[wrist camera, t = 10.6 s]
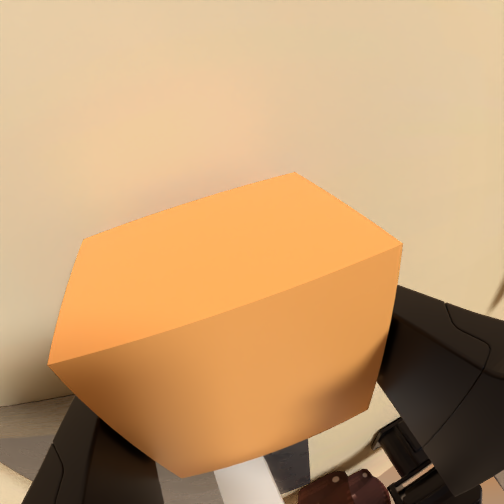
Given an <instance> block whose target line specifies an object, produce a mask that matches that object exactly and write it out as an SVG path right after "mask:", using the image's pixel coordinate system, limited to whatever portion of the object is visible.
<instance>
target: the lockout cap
mask: <svg viewBox="0 0 504 504" xmlns="http://www.w3.org/2000/svg"><path fill="white" fill-rule="evenodd" d="M402 246H403V243H401V242H400V241H398V240H397V239H396V238H394V237H393V236H391V235H390V234H389V233H387V232H386V231H384V230H383V229H382V228H380V227H379V226H377V225H376V224H375V223H373V222H372V221H370V220H369V219H367V218H366V217H364V216H363V215H361V214H360V213H358V212H357V211H355V210H354V209H352V208H351V207H349V206H348V205H346V204H345V203H343V202H342V201H340V200H339V199H337V198H336V197H334V196H333V195H331V194H329V193H328V192H326V191H325V190H323V189H322V188H320V187H318V186H317V185H315V184H314V183H312V182H310V181H309V180H307V179H305V178H304V177H302V176H300V175H299V174H297V173H295V172H294V173H290V174H286V175H282V176H278V177H275V178H271V179H267V180H263V181H260V182H256V183H253V184H249V185H245V186H242V187H238V188H235V189H232V190H228V191H225V192H221V193H218V194H215V195H211V196H208V197H205V198H202V199H198V200H195V201H192V202H189V203H186V204H183V205H179V206H176V207H173V208H170V209H167V210H164V211H161V212H158V213H155V214H152V215H149V216H146V217H144V218H141V219H138V220H135V221H132V222H129V223H126V224H124V225H121V226H118V227H115V228H113V229H110V230H107V231H104V232H102V233H99V234H96V235H94V236H91V237H89V238H86V239H83V242H82V244H81V247H80V250H79V252H78V255H77V258H76V261H75V264H74V267H73V270H72V273H71V276H70V279H69V282H68V285H67V288H66V292H65V295H64V298H63V302H62V305H61V309H60V313H59V316H58V320H57V324H56V328H55V332H54V336H53V340H52V345H51V349H50V354H49V359H48V364H47V365H48V366H49V367H50V369H51V370H52V371H53V372H54V373H55V374H56V375H57V376H58V377H59V378H60V379H61V381H62V382H63V383H64V384H65V385H66V386H67V387H68V388H69V389H70V390H71V391H72V392H73V393H74V394H75V395H76V396H77V397H78V398H79V399H80V400H81V401H82V402H83V403H84V404H86V405H87V406H88V407H89V408H90V409H91V410H92V411H93V412H94V413H95V414H96V415H97V416H99V417H100V418H101V419H102V420H103V421H104V422H105V423H107V424H108V425H109V426H110V427H111V428H112V429H114V430H115V431H116V432H117V433H119V434H120V435H121V436H122V437H123V438H125V439H126V440H127V441H129V442H130V443H131V444H132V445H134V446H135V447H136V448H138V449H139V450H140V451H142V452H143V453H144V454H146V455H147V456H149V457H150V458H151V459H153V460H154V461H156V462H157V463H159V464H160V465H161V466H163V467H164V468H166V469H167V470H169V471H170V472H172V473H174V474H175V475H177V476H178V477H180V478H186V477H191V476H195V475H199V474H203V473H207V472H211V471H215V470H219V469H222V468H226V467H230V466H233V465H236V464H240V463H243V462H246V461H249V460H252V459H255V458H258V457H261V456H264V455H267V454H270V453H272V452H275V451H278V450H280V449H283V448H286V447H288V446H291V445H293V444H296V443H298V442H301V441H303V440H305V439H308V438H310V437H312V436H315V435H317V434H319V433H321V432H324V431H326V430H328V429H330V428H332V427H334V426H336V425H338V424H340V423H342V422H344V421H346V420H348V419H350V418H352V417H354V416H356V415H358V414H360V413H362V412H364V411H366V410H367V409H368V408H369V405H370V401H371V398H372V395H373V391H374V388H375V384H376V381H377V377H378V373H379V370H380V366H381V362H382V358H383V354H384V350H385V345H386V341H387V336H388V332H389V327H390V322H391V317H392V312H393V307H394V301H395V295H396V289H397V283H398V277H399V270H400V262H401V254H402Z"/></svg>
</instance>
